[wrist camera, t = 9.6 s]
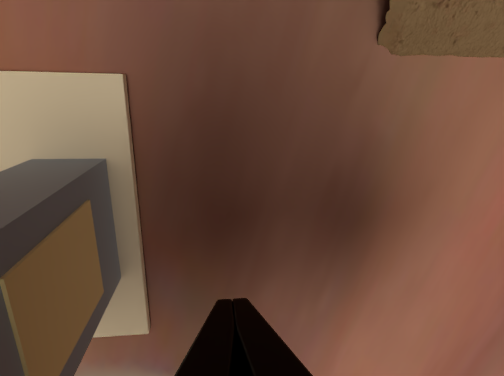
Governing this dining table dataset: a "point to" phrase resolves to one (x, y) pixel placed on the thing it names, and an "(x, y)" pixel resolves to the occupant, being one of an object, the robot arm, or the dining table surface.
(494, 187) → the dining table surface
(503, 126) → the dining table surface
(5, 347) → the blue-grey block
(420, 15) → the clay tablet
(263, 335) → the robot arm
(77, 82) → the placemat
